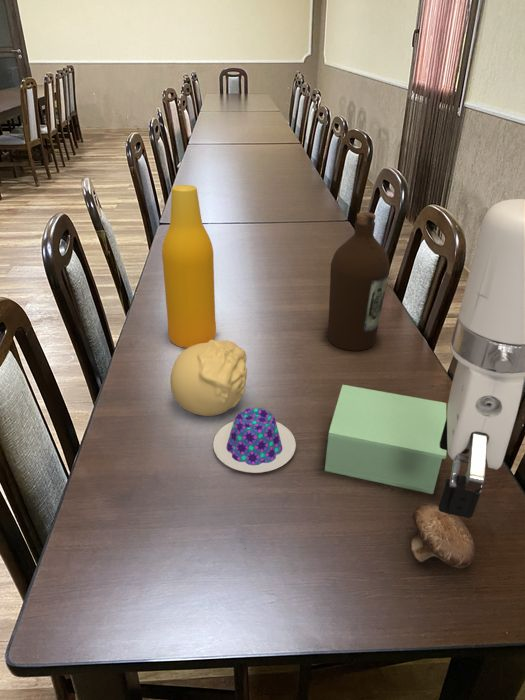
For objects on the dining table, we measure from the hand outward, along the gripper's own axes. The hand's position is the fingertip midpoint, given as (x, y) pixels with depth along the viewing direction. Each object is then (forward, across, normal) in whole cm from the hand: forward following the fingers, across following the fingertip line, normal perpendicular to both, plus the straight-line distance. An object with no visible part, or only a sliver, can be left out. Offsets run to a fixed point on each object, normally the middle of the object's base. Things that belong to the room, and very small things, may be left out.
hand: (453, 479), depth 57 cm
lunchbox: (+12, +15, +7) cm, 20 cm away
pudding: (+12, +11, +25) cm, 30 cm away
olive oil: (+12, +47, +16) cm, 51 cm away
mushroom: (+12, 0, -1) cm, 12 cm away
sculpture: (+12, +19, +35) cm, 42 cm away
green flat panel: (+5, +15, +7) cm, 17 cm away
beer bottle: (+13, +38, +46) cm, 61 cm away
